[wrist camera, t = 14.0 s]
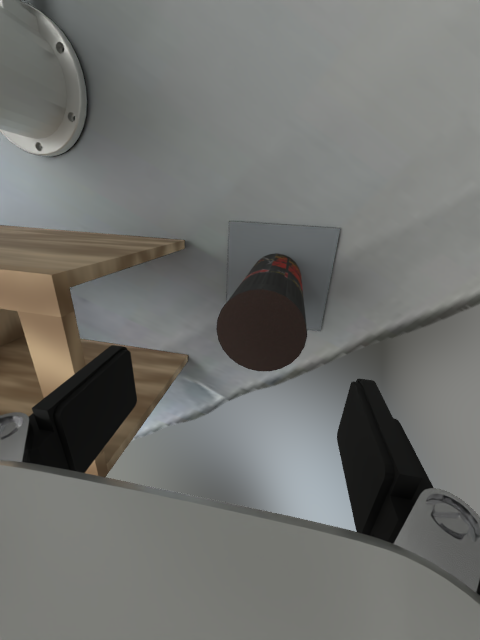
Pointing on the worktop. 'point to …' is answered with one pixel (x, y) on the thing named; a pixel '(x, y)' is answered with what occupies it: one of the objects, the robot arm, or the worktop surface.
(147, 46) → the worktop surface
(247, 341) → the deodorant
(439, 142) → the worktop surface
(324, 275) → the mat
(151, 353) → the cover
